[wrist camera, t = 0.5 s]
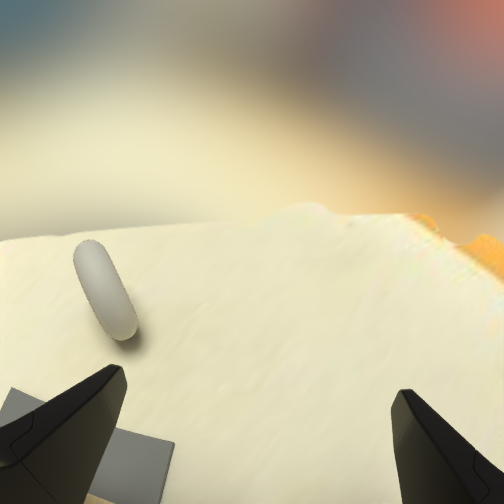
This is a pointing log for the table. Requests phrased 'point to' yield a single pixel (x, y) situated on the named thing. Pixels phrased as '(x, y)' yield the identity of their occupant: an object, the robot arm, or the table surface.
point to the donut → (105, 290)
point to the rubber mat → (114, 459)
